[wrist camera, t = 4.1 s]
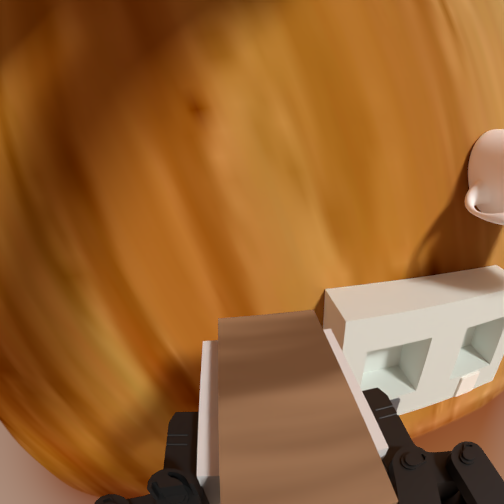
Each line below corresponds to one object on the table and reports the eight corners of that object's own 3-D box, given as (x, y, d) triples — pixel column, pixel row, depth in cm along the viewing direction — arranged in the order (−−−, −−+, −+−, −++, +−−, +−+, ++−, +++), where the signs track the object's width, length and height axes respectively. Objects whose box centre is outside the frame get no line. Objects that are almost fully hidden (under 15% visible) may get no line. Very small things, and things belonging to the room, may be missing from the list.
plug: (218, 318, 13) (221, 533, 5) (313, 309, 13) (398, 501, 5) (227, 386, 15) (237, 563, 6) (309, 377, 15) (362, 543, 6)
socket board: (325, 289, 25) (347, 323, 20) (496, 265, 27) (528, 285, 22) (317, 395, 29) (330, 434, 24) (470, 356, 31) (493, 381, 26)
